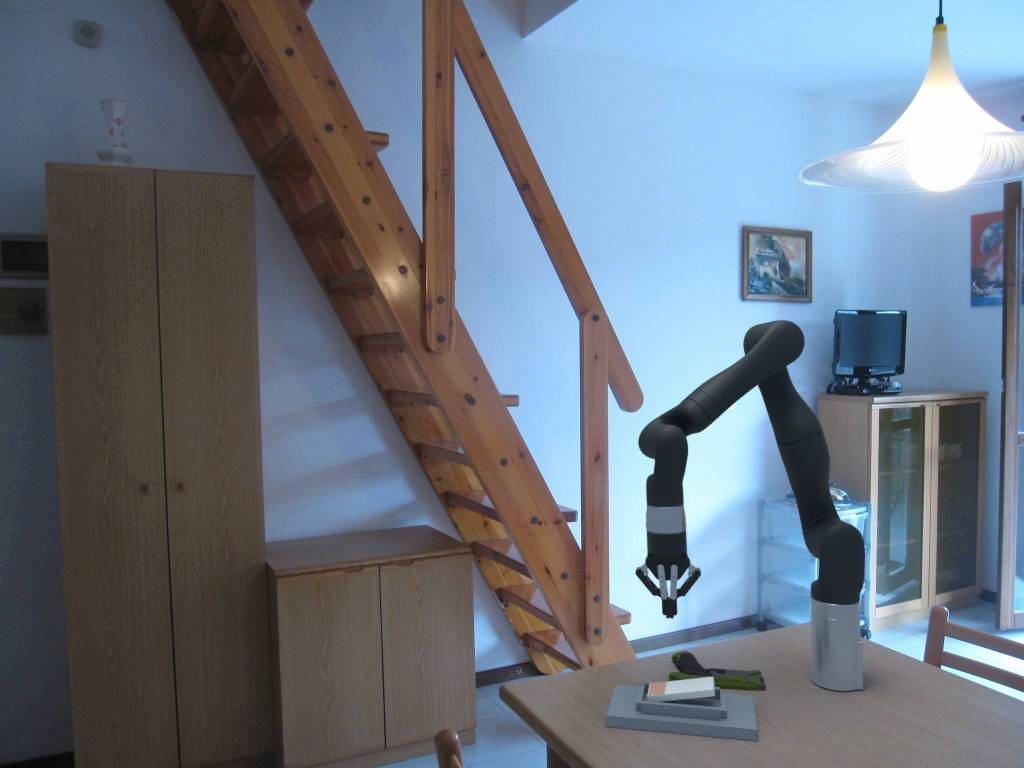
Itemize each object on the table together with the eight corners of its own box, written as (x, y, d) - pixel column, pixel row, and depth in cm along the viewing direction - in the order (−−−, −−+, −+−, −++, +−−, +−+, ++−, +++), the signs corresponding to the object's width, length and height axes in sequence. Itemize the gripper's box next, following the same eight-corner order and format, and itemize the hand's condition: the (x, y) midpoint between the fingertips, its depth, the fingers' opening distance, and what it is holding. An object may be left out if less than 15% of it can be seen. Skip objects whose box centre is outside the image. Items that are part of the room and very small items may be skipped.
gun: (758, 666, 168) (766, 697, 154) (668, 660, 172) (669, 689, 157) (758, 655, 168) (766, 684, 154) (668, 649, 172) (669, 677, 157)
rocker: (714, 682, 145) (713, 675, 145) (714, 696, 139) (713, 688, 139) (650, 689, 148) (649, 682, 148) (648, 702, 142) (647, 695, 142)
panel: (752, 706, 147) (752, 685, 147) (757, 741, 134) (757, 718, 134) (615, 694, 154) (615, 674, 153) (606, 726, 140) (606, 704, 140)
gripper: (701, 523, 151) (704, 611, 151) (632, 523, 154) (636, 610, 154) (702, 531, 144) (705, 624, 144) (630, 531, 147) (633, 622, 147)
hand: (669, 617), depth 149 cm, fingers closed
